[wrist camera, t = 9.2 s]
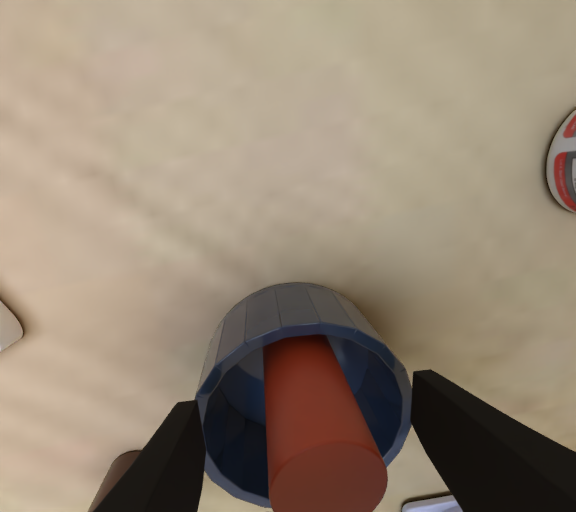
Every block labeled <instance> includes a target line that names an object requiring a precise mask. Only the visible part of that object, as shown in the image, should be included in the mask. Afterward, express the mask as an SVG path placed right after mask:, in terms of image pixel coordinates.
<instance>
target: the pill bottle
mask: <svg viewBox="0 0 576 512" xmlns="http://www.w3.org/2000/svg"><path fill="white" fill-rule="evenodd" d="M547 181H548V185H549V188H550V190H551V193H552V194H553V196H554V198H555V199H556V200H557V201H558V202H559V204H561V205H562V206H563V207H564V208H566V209H568V210H570V211H572V212H574V213H576V110H574V111H573V112H572V113H571V114H570V115H569V117H568V118H567V119H566V120H565V121H564V123H563V124H562V125H561V127H560V128H559V130H558V132H557V134H556V135H555V137H554V139H553V142H552V144H551V147H550V150H549V153H548V158H547Z"/></svg>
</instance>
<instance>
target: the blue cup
mask: <svg viewBox="0 0 576 512" xmlns="http://www.w3.org/2000/svg"><path fill="white" fill-rule="evenodd" d="M315 334H322V335H326V336H327V338H328V340H329V342H330V345H331V347H332V349H333V351H334V353H335V356H336V358H337V360H338V362H339V364H340V367H341V369H342V371H343V373H344V375H345V377H346V380H347V382H348V384H349V386H350V388H351V391H352V393H353V395H354V397H355V399H356V401H357V404H358V406H359V408H360V410H361V412H362V415H363V417H364V419H365V421H366V423H367V426H368V428H369V430H370V432H371V434H372V436H373V439H374V441H375V443H376V445H377V447H378V450H379V452H380V454H381V456H382V458H383V461H384V463H385V465H386V468H387V467H388V465H389V464H390V463H391V462H392V461H393V459H394V458H395V457H396V456H397V454H398V453H399V452H400V450H401V449H402V447H403V444H404V442H405V440H406V437H407V435H408V433H409V430H410V428H411V425H412V423H411V421H410V415H411V400H412V387H411V384H410V381H409V377H408V374H407V371H406V368H405V367H404V365H403V364H402V363H401V362H400V360H399V359H398V358H397V357H396V355H395V354H394V353H393V352H392V350H391V349H390V348H389V347H388V345H387V344H386V343H385V342H384V340H383V339H382V338H381V337H380V335H379V334H378V333H377V332H376V330H375V329H374V328H373V327H372V325H371V324H370V323H369V322H368V320H367V319H366V318H365V317H364V316H363V314H362V313H361V312H360V311H359V310H358V308H357V307H356V306H355V305H354V304H353V303H352V302H351V301H349V300H348V299H347V298H345V297H344V296H343V295H341V294H339V293H337V292H335V291H333V290H331V289H328V288H326V287H323V286H319V285H315V284H309V283H286V284H279V285H275V286H271V287H268V288H265V289H262V290H260V291H257V292H255V293H253V294H251V295H250V296H248V297H246V298H245V299H243V300H242V301H241V302H239V303H238V304H237V305H235V306H234V307H233V308H232V309H231V310H230V311H229V312H228V313H227V314H226V316H225V317H224V318H223V320H222V321H221V322H220V324H219V326H218V327H217V329H216V331H215V333H214V336H213V338H212V340H211V342H210V345H209V349H208V353H207V356H206V360H205V363H204V367H203V371H202V374H201V378H200V381H199V385H198V389H197V392H196V396H195V400H198V406H199V412H200V418H201V423H202V429H203V435H204V441H205V446H206V457H205V467H204V470H205V472H206V473H207V475H208V476H209V478H210V479H211V480H212V481H213V482H214V483H216V484H217V485H218V486H220V487H221V488H222V489H224V490H225V491H226V492H228V493H229V494H230V495H232V496H233V497H235V498H238V499H241V500H243V501H246V502H249V503H252V504H255V505H258V506H261V507H265V508H272V507H271V504H270V500H269V486H268V463H267V439H266V416H265V393H264V369H263V347H264V346H266V345H269V344H271V343H273V342H276V341H278V340H281V339H283V338H288V337H297V336H306V335H315Z"/></svg>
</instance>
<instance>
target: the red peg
mask: <svg viewBox="0 0 576 512" xmlns="http://www.w3.org/2000/svg"><path fill="white" fill-rule="evenodd" d="M263 369H264V393H265V416H266V439H267V463H268V486H269V500H270V504H271V507H272V509H273V511H274V512H372V511H373V510H374V509H375V508H376V507H377V506H378V504H379V503H380V501H381V500H382V498H383V496H384V494H385V491H386V488H387V481H388V477H387V469H386V465H385V463H384V461H383V458H382V456H381V454H380V452H379V450H378V447H377V445H376V443H375V441H374V439H373V436H372V434H371V432H370V430H369V428H368V426H367V423H366V421H365V419H364V417H363V415H362V412H361V410H360V408H359V406H358V404H357V401H356V399H355V397H354V395H353V393H352V391H351V388H350V386H349V384H348V382H347V380H346V377H345V375H344V373H343V371H342V369H341V367H340V364H339V362H338V360H337V358H336V356H335V353H334V351H333V349H332V347H331V345H330V342H329V340H328V338H327V336H326V335H322V334H315V335H306V336H297V337H288V338H283V339H281V340H278V341H276V342H273V343H271V344H269V345H266V346H264V347H263Z"/></svg>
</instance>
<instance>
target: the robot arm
mask: <svg viewBox="0 0 576 512" xmlns="http://www.w3.org/2000/svg"><path fill="white" fill-rule="evenodd" d="M410 421H411V423H412V425H413V428H414V430H415V432H416V434H417V436H418V438H419V440H420V442H421V444H422V446H423V448H424V450H425V452H426V454H427V455H428V457H429V458H430V460H431V462H432V463H433V465H434V466H435V468H436V470H437V471H438V473H439V474H440V476H441V478H442V479H443V481H444V482H445V484H446V485H447V487H448V489H449V490H450V492H451V493H452V495H450V496H444V497H438V498H433V499H427V500H421V501H415V502H410V503H407V504H405V505H404V506H403V508H402V512H576V452H574V451H572V450H570V449H568V448H566V447H564V446H563V445H561V444H559V443H557V442H555V441H553V440H551V439H549V438H547V437H545V436H544V435H542V434H540V433H538V432H536V431H534V430H533V429H531V428H529V427H527V426H525V425H523V424H522V423H520V422H518V421H516V420H515V419H513V418H511V417H509V416H508V415H506V414H504V413H503V412H501V411H499V410H497V409H496V408H494V407H492V406H491V405H489V404H487V403H486V402H484V401H482V400H481V399H479V398H477V397H476V396H474V395H472V394H471V393H469V392H468V391H466V390H464V389H463V388H461V387H459V386H458V385H456V384H455V383H453V382H451V381H450V380H448V379H446V378H445V377H443V376H441V375H439V374H438V373H436V372H434V371H432V370H431V369H430V370H422V371H414V372H413V385H412V400H411V415H410ZM205 457H206V446H205V441H204V435H203V429H202V423H201V418H200V412H199V406H198V400H192V401H185V402H178V403H177V404H176V405H175V406H174V408H173V409H172V410H171V412H170V413H169V414H168V416H167V417H166V419H165V420H164V421H163V423H162V424H161V426H160V427H159V428H158V430H157V431H156V432H155V434H154V435H153V436H152V438H151V439H150V441H149V442H148V443H147V445H146V446H145V447H144V448H143V450H142V451H141V452H140V454H139V455H138V456H137V458H136V459H135V460H134V461H133V463H132V464H131V465H130V467H129V468H128V469H127V470H126V472H125V473H124V474H123V476H122V477H121V478H120V479H119V480H118V482H117V483H116V484H115V485H114V486H113V488H112V489H111V490H110V491H109V492H108V494H107V495H106V496H105V497H104V498H103V500H102V501H101V502H100V503H99V504H98V506H97V507H96V508H95V509H94V510H93V512H197V510H198V505H199V501H200V496H201V491H202V484H203V476H204V467H205Z"/></svg>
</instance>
